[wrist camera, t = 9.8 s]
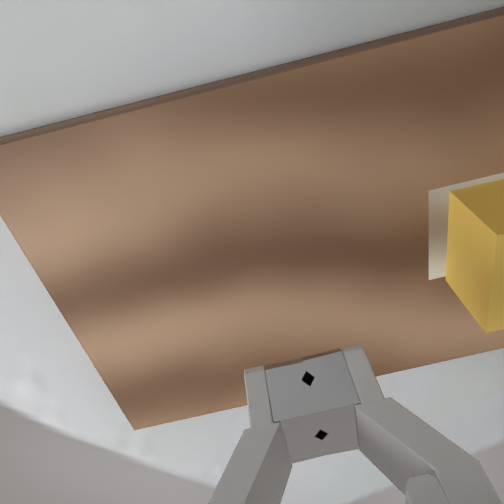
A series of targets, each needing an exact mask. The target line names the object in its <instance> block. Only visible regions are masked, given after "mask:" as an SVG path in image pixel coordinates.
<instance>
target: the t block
mask: <svg viewBox="0 0 504 504" xmlns="http://www.w3.org/2000/svg"><path fill="white" fill-rule="evenodd" d="M446 282H447V283H448V284H449V286H450V287H451V288H452V290H453V291H454V292H455V294H456V295H457V296H458V297H459V299H460V300H461V301H462V303H463V304H464V305H465V307H466V308H467V309H468V311H469V312H470V313H471V315H472V316H473V317H474V319H475V320H476V321H477V323H478V324H479V325H480V327H481V328H482V329H483V330H484V332H485V333H488V332H493V331H498V330H502V329H504V179H500V180H496V181H491V182H487V183H482V184H478V185H474V186H469V187H465V188H460V189H456V190H452V191H450V192H449V214H448V236H447V258H446Z"/></svg>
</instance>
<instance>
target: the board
mask: <svg viewBox="0 0 504 504" xmlns="http://www.w3.org/2000/svg"><path fill="white" fill-rule="evenodd" d="M500 179H504V7H502V8H498V9H495V10H491V11H487V12H483V13H479V14H475V15H471V16H468V17H464V18H460V19H456V20H452V21H448V22H444V23H440V24H437V25H433V26H429V27H425V28H421V29H417V30H413V31H410V32H406V33H402V34H398V35H394V36H390V37H386V38H383V39H379V40H375V41H371V42H367V43H363V44H359V45H356V46H352V47H348V48H344V49H340V50H336V51H332V52H328V53H325V54H321V55H317V56H313V57H309V58H305V59H301V60H298V61H294V62H290V63H286V64H282V65H278V66H274V67H271V68H267V69H263V70H259V71H255V72H251V73H247V74H243V75H240V76H236V77H232V78H228V79H224V80H220V81H216V82H213V83H209V84H205V85H201V86H197V87H193V88H189V89H186V90H182V91H178V92H174V93H170V94H166V95H162V96H158V97H155V98H151V99H147V100H143V101H139V102H135V103H131V104H128V105H124V106H120V107H116V108H112V109H108V110H104V111H101V112H97V113H93V114H89V115H85V116H81V117H77V118H74V119H70V120H66V121H62V122H58V123H54V124H50V125H46V126H43V127H39V128H35V129H31V130H27V131H23V132H19V133H16V134H12V135H8V136H4V137H0V216H1V217H2V219H3V220H4V222H5V224H6V225H7V227H8V228H9V230H10V232H11V233H12V235H13V236H14V238H15V240H16V241H17V243H18V244H19V246H20V248H21V249H22V251H23V252H24V254H25V256H26V257H27V259H28V260H29V262H30V264H31V265H32V267H33V269H34V270H35V272H36V273H37V275H38V277H39V278H40V280H41V281H42V283H43V285H44V286H45V288H46V289H47V291H48V293H49V294H50V296H51V297H52V299H53V301H54V302H55V304H56V305H57V307H58V309H59V310H60V312H61V313H62V315H63V317H64V318H65V320H66V321H67V323H68V325H69V326H70V328H71V329H72V331H73V333H74V334H75V336H76V337H77V339H78V341H79V342H80V344H81V345H82V347H83V349H84V350H85V352H86V353H87V355H88V357H89V358H90V360H91V361H92V363H93V365H94V366H95V368H96V369H97V371H98V373H99V374H100V376H101V377H102V379H103V381H104V382H105V384H106V385H107V387H108V389H109V390H110V392H111V393H112V395H113V397H114V398H115V400H116V401H117V403H118V405H119V406H120V408H121V409H122V411H123V413H124V414H125V416H126V418H127V419H128V421H129V422H130V424H131V426H132V427H133V429H134V430H137V429H142V428H146V427H151V426H155V425H160V424H164V423H169V422H173V421H178V420H182V419H187V418H191V417H196V416H200V415H205V414H209V413H214V412H218V411H223V410H227V409H232V408H236V407H241V406H245V405H248V404H247V396H246V387H245V379H244V370H245V369H250V368H254V367H259V366H264V365H269V364H274V363H279V362H284V361H289V360H294V359H299V358H302V357H305V356H309V355H313V354H317V353H321V352H326V351H330V350H334V349H338V348H340V349H341V348H345V347H349V346H353V345H358V344H360V345H361V346H362V347H363V348H364V351H365V353H366V356H367V358H368V360H369V363H370V365H371V367H372V370H373V372H374V375H375V376H380V375H384V374H389V373H393V372H398V371H402V370H407V369H411V368H416V367H420V366H425V365H429V364H433V363H438V362H442V361H447V360H451V359H456V358H460V357H465V356H469V355H474V354H478V353H483V352H487V351H492V350H496V349H501V348H504V329H502V330H498V331H493V332H488V333H485V332H484V330H483V329H482V328H481V327H480V325H479V324H478V323H477V321H476V320H475V319H474V317H473V316H472V315H471V313H470V312H469V311H468V309H467V308H466V307H465V305H464V304H463V303H462V301H461V300H460V299H459V297H458V296H457V295H456V294H455V292H454V291H453V290H452V288H451V287H450V286H449V284H448V283H447V282H446V258H447V236H448V214H449V192H450V191H452V190H456V189H460V188H465V187H469V186H474V185H478V184H482V183H487V182H491V181H496V180H500Z"/></svg>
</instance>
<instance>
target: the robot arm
mask: <svg viewBox="0 0 504 504" xmlns="http://www.w3.org/2000/svg"><path fill="white" fill-rule="evenodd" d="M244 379H245V387H246V396H247V404H248V412H249V421H250V428H249V429H245V430H244V432H243V434H242V436H241V438H240V440H239V442H238V444H237V446H236V448H235V450H234V452H233V454H232V456H231V458H230V460H229V462H228V465H227V467H226V469H225V471H224V473H223V475H222V477H221V479H220V481H219V483H218V485H217V487H216V489H215V491H214V493H213V495H212V497H211V499H210V502H209V503H208V504H280V503H281V500H282V496H283V493H284V490H285V487H286V484H287V481H288V478H289V475H290V472H291V469H292V463H296V462H300V461H304V460H308V459H312V458H316V457H320V456H324V455H329V454H334V453H340V452H345V451H350V450H355V449H360V451H361V452H362V453H363V454H364V455H365V456H366V457H367V458H368V459H369V460H370V461H371V462H372V463H373V464H374V465H375V466H376V467H377V468H378V469H379V470H380V471H381V472H382V473H383V474H384V475H385V476H386V477H387V478H388V479H389V480H390V481H391V482H392V483H393V484H394V485H395V486H396V487H397V488H398V489H399V490H400V491H402V492H403V494H404V495H405V496H406V500H405V501H406V503H405V504H502V502H501V500H500V498H499V496H498V495H497V493H496V491H495V489H494V487H493V485H492V484H491V482H490V480H489V478H488V476H487V475H486V473H485V471H484V469H483V467H482V465H481V464H480V462H479V461H478V460H477V459H475V458H474V457H473V456H471V455H470V454H468V453H467V452H466V451H464V450H463V449H462V448H460V447H459V446H457V445H456V444H455V443H453V442H452V441H450V440H449V439H448V438H446V437H445V436H444V435H442V434H441V433H439V432H438V431H437V430H435V429H434V428H432V427H431V426H430V425H428V424H427V423H425V422H424V421H423V420H421V419H420V418H419V417H417V416H416V415H414V414H413V413H412V412H410V411H409V410H407V409H406V408H405V407H403V406H402V405H400V404H399V403H398V402H396V401H395V400H394V399H392V398H391V397H390V398H384V396H383V393H382V391H381V389H380V386H379V384H378V382H377V379H376V377H375V375H374V372H373V370H372V367H371V365H370V363H369V360H368V358H367V356H366V353H365V351H364V348H363V347H362V346H361V345H360V344H358V345H353V346H349V347H345V348H341V349H340V348H338V349H334V350H330V351H326V352H321V353H317V354H313V355H309V356H305V357H302V358H299V359H294V360H289V361H284V362H279V363H274V364H269V365H264V366H259V367H254V368H250V369H245V370H244Z"/></svg>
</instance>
